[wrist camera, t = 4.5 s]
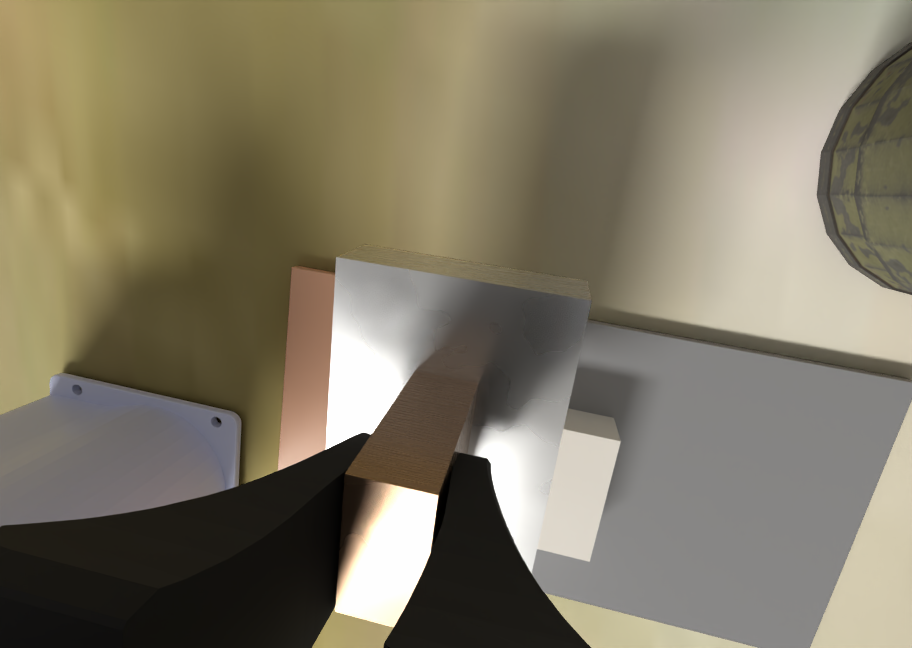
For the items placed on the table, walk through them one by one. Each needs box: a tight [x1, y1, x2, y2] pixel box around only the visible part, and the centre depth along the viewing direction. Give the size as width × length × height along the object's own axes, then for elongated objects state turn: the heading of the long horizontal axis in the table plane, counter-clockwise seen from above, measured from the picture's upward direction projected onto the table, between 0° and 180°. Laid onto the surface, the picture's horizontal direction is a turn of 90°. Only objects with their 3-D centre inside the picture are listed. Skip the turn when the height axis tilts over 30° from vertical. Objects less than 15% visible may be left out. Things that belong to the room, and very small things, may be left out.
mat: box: [278, 266, 912, 648], centre depth 21 cm, size 23×12×1 cm, turn 81°
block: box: [537, 409, 621, 562], centre depth 20 cm, size 5×5×2 cm
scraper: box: [326, 244, 592, 627], centre depth 12 cm, size 6×8×6 cm
